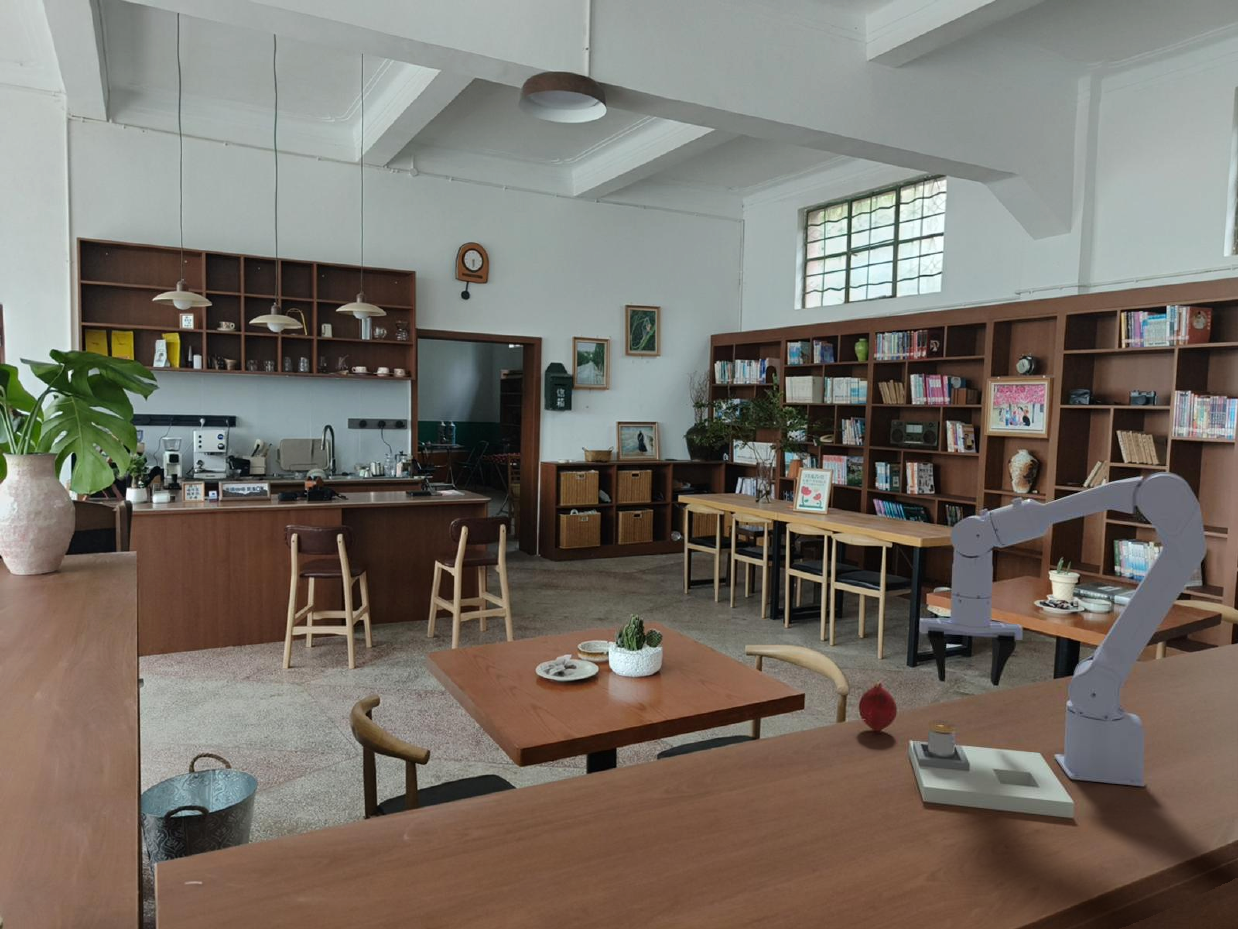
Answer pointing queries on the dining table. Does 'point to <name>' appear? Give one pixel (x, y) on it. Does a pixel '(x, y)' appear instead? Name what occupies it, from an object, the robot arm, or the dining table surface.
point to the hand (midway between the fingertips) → (967, 681)
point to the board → (990, 780)
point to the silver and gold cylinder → (941, 740)
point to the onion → (877, 708)
